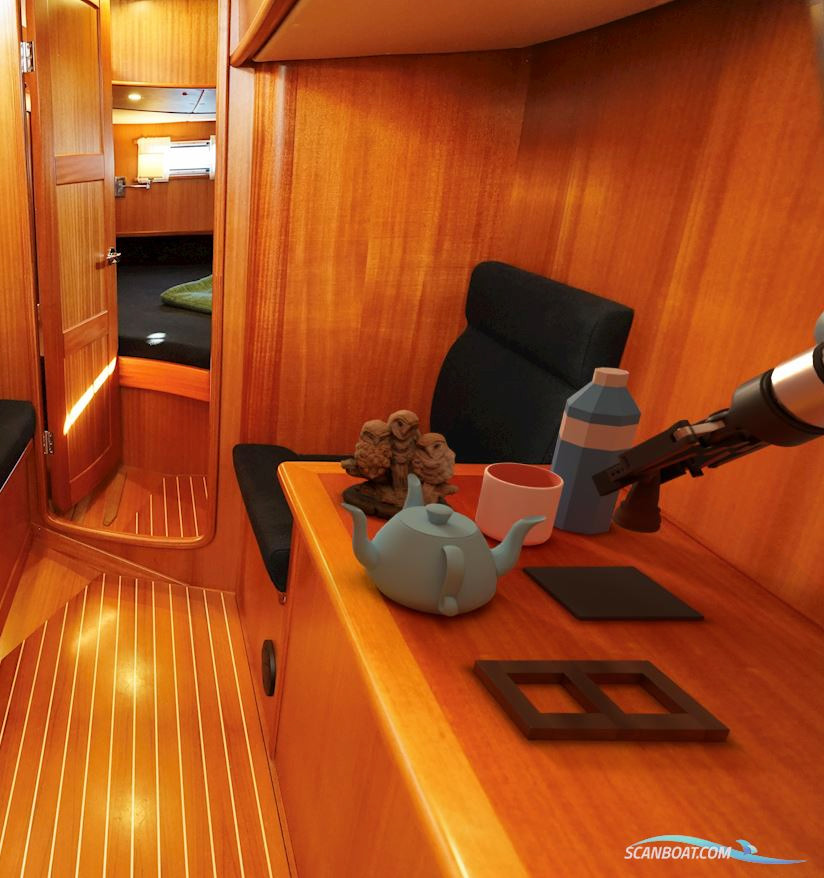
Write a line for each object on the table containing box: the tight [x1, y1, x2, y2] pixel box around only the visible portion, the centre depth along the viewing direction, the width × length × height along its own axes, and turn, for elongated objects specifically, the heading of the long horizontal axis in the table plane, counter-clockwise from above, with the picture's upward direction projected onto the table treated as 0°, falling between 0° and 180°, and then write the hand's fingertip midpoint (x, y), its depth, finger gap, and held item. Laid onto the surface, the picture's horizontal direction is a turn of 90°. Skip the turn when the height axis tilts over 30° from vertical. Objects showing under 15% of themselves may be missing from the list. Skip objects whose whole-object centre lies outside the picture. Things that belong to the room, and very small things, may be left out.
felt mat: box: [522, 566, 705, 621], centre depth 93 cm, size 15×12×1 cm
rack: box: [472, 659, 731, 742], centre depth 74 cm, size 19×11×2 cm, turn 87°
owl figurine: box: [340, 409, 459, 521], centre depth 117 cm, size 18×12×17 cm, turn 68°
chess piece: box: [611, 469, 662, 534], centre depth 84 cm, size 5×5×10 cm
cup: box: [474, 462, 564, 547], centre depth 108 cm, size 10×10×10 cm
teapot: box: [340, 474, 546, 617], centre depth 94 cm, size 17×19×12 cm
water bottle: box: [549, 366, 642, 536], centre depth 108 cm, size 9×9×25 cm
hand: (616, 484), depth 88 cm, fingers closed on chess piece, 4 cm apart
